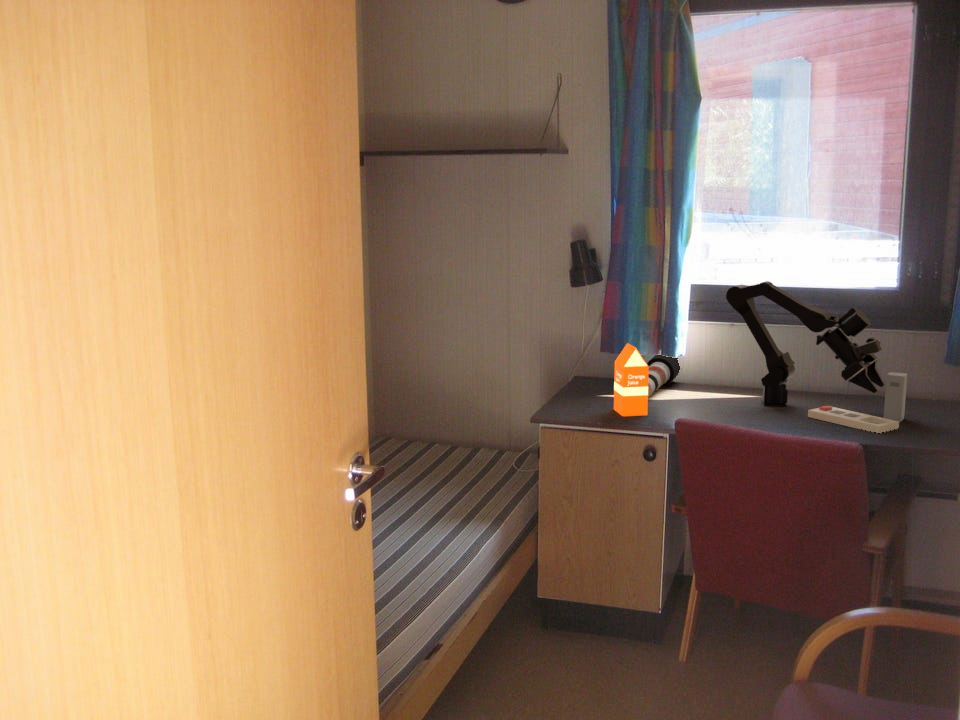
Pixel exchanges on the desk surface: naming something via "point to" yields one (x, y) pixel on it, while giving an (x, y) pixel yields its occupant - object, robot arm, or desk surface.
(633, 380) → the orange juice
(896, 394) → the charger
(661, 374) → the telephoto camera lens
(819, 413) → the power strip
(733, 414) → the desk surface
